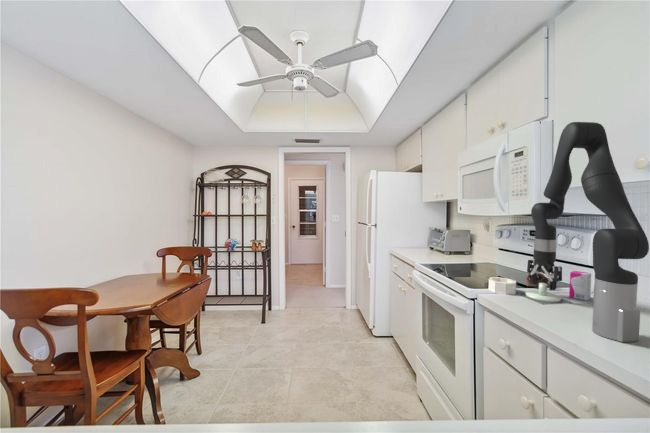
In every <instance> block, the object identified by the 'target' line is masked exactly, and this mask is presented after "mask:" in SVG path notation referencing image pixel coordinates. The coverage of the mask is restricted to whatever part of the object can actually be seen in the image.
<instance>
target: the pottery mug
mask: <svg viewBox="0 0 650 433" xmlns="http://www.w3.org/2000/svg"><path fill="white" fill-rule="evenodd" d="M537 276H538V279H537V284H532V282H531V274H530V273H528V275H526V283H525V285H526V286H527V285H528V286H529V287H539V283H546V284H547V285H548V286H549V283H550V279H549V278H548V277H547V276H546V275H545V274H543V273H542V272H539V273H538V274H537ZM528 286H527V287H528Z"/></svg>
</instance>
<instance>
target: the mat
mask: <svg viewBox="0 0 650 433" xmlns="http://www.w3.org/2000/svg"><path fill="white" fill-rule="evenodd" d="M514 295H517V296H519V297H523V298H524V299H525V298H526V299H527V300H530V301H533V302H534V303H535V302H536V303H538V304H541V305H543V306H544V305H560V304H561V305H563V304H573V303H574V302H572V301H569V300H566V299H563V298H561V301H560V302H557V303H550V302H542V301H537V300H533V299H530V298H528V297H526V296H525V292H516V293H515V294H514Z"/></svg>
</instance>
